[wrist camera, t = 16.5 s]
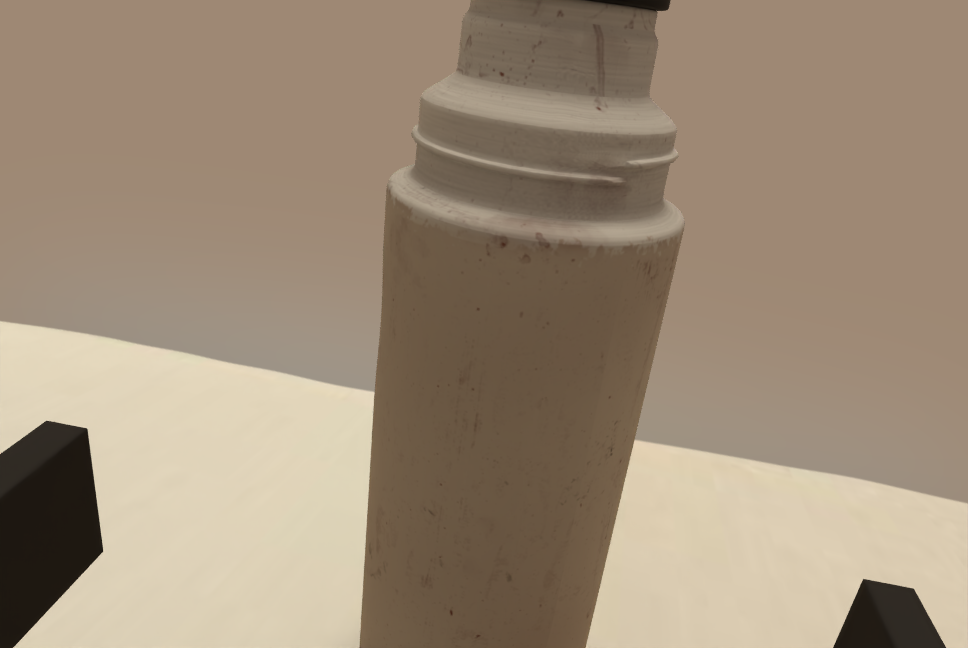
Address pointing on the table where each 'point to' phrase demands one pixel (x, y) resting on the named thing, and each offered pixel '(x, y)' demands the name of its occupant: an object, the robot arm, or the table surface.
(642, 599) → the table surface
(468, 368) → the thermos bottle
